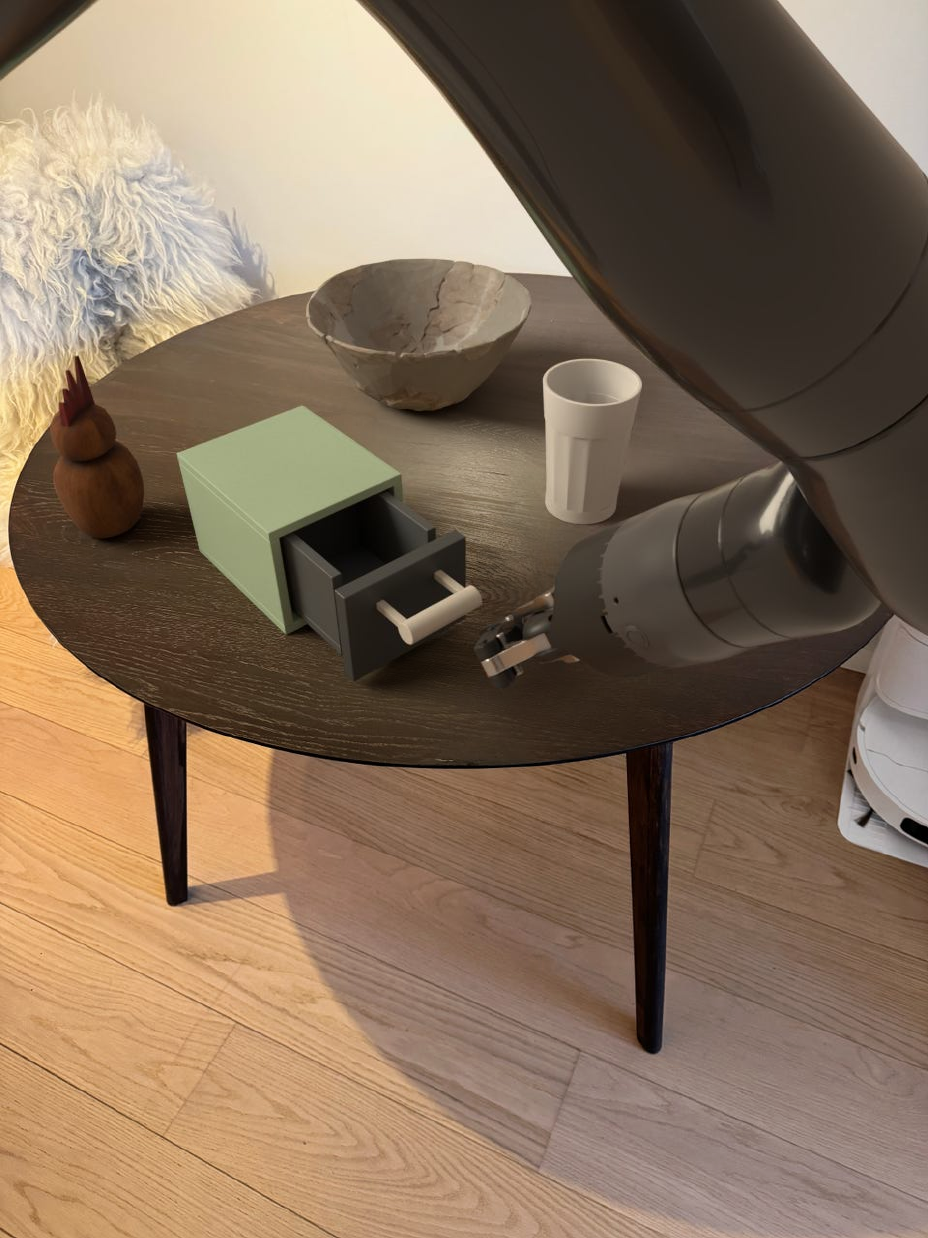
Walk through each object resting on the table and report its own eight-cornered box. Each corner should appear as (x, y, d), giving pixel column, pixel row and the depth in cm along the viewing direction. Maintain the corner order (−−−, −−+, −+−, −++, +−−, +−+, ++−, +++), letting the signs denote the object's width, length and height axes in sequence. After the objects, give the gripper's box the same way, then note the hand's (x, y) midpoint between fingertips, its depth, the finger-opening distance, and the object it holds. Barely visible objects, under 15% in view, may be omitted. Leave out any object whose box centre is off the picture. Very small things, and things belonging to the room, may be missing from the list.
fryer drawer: (504, 648, 69) (507, 565, 64) (390, 717, 64) (383, 633, 59) (369, 542, 78) (362, 462, 73) (261, 594, 73) (246, 513, 68)
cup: (523, 517, 82) (529, 394, 74) (551, 471, 88) (560, 351, 80) (611, 538, 80) (627, 413, 72) (635, 489, 86) (652, 368, 78)
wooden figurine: (122, 496, 85) (76, 340, 75) (165, 518, 82) (123, 360, 72) (59, 533, 81) (1, 373, 71) (101, 557, 78) (48, 395, 68)
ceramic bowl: (518, 340, 108) (522, 253, 102) (536, 446, 91) (541, 350, 84) (326, 343, 108) (316, 256, 101) (307, 451, 91) (294, 354, 84)
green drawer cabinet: (407, 572, 77) (401, 473, 70) (286, 635, 71) (268, 533, 65) (315, 500, 84) (302, 404, 78) (199, 551, 79) (175, 452, 73)
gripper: (725, 465, 47) (542, 546, 62) (531, 573, 40) (380, 634, 56) (791, 598, 47) (593, 647, 62) (609, 727, 41) (438, 745, 56)
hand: (493, 641), depth 59 cm, fingers closed
